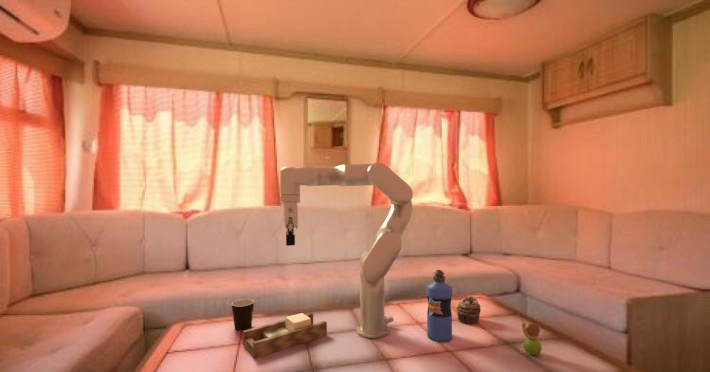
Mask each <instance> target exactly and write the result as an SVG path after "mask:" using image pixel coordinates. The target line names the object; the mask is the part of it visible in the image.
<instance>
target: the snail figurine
mask: <svg viewBox="0 0 710 372" xmlns="http://www.w3.org/2000/svg"><path fill="white" fill-rule="evenodd" d="M520 320H521V323H520V324H521V328H522V332H523V334H524V337H526V338H525V339H524V341H523V343H522V345H523V346H522V347H523V349H524V351H525V352H526V353H528V354H529V355H531V356H537V355H539V354H540V353H541V352H542V348H543V347H542V344H541V342H540V341H539V340H538V338H539V337H540V332H541V329H540V326H539V325H538V324H536V323H533V322H531V323H529V324H528V325H527V323H526V322H524V321H525V319H524V318H521V319H520Z"/></svg>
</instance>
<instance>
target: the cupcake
mask: <svg viewBox="0 0 710 372" xmlns="http://www.w3.org/2000/svg"><path fill="white" fill-rule="evenodd" d="M457 305H458V306H456V309H455V310H456V314H457V319H458V322H459V323H461V324H463V325H466V326H474V325H478V324H479V319H480V315H481V305H480V303H479V302H478V299H476V298H474V297H473V296H470V297H468V296H464V298H462V299H461V300H460V301H459V302H458V304H457Z"/></svg>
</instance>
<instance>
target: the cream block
mask: <svg viewBox="0 0 710 372" xmlns="http://www.w3.org/2000/svg"><path fill="white" fill-rule="evenodd" d="M305 314H306V313H305ZM305 314H304V313H303V312H301V313H296V314H292V315H289V316H285V320H286V328H287V329H288V330H289V331H292V330H296V329H299V328H302V327H306V326H309V325H311V318H309V317H308V316H306V315H305Z"/></svg>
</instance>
